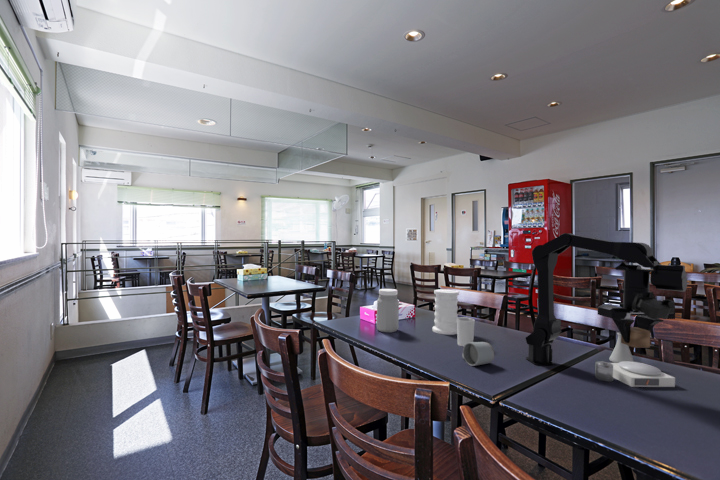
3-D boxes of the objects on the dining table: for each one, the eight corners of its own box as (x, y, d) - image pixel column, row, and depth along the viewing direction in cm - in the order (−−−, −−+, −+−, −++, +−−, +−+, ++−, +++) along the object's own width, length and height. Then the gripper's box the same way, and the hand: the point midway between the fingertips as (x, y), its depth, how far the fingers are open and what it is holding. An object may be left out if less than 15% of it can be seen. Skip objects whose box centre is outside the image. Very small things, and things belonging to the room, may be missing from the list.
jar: (402, 330, 158) (403, 290, 158) (389, 334, 151) (389, 292, 151) (385, 326, 165) (386, 287, 165) (371, 329, 158) (372, 289, 158)
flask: (640, 367, 117) (640, 337, 117) (615, 365, 119) (616, 335, 119) (628, 360, 125) (628, 331, 124) (605, 358, 126) (605, 330, 126)
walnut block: (634, 347, 97) (634, 331, 97) (621, 342, 102) (621, 327, 102) (649, 347, 98) (650, 331, 98) (635, 342, 102) (636, 327, 102)
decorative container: (438, 335, 152) (439, 293, 152) (428, 328, 163) (429, 289, 163) (463, 334, 154) (464, 292, 154) (451, 327, 165) (452, 289, 165)
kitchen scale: (632, 387, 101) (632, 375, 101) (600, 370, 113) (601, 360, 113) (676, 387, 101) (676, 375, 101) (640, 371, 114) (640, 360, 114)
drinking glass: (477, 345, 138) (478, 320, 138) (466, 348, 134) (467, 321, 134) (464, 341, 143) (464, 316, 143) (452, 343, 139) (453, 318, 139)
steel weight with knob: (602, 381, 105) (602, 366, 105) (591, 375, 109) (592, 360, 109) (616, 381, 105) (616, 366, 105) (605, 375, 109) (605, 360, 109)
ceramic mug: (496, 365, 116) (496, 343, 116) (478, 369, 112) (478, 345, 113) (473, 356, 125) (473, 335, 125) (456, 359, 122) (456, 338, 122)
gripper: (629, 291, 91) (627, 352, 91) (696, 291, 92) (694, 351, 92) (596, 285, 102) (595, 339, 102) (657, 285, 103) (655, 339, 103)
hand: (634, 342), depth 100 cm, fingers closed on walnut block, 4 cm apart
